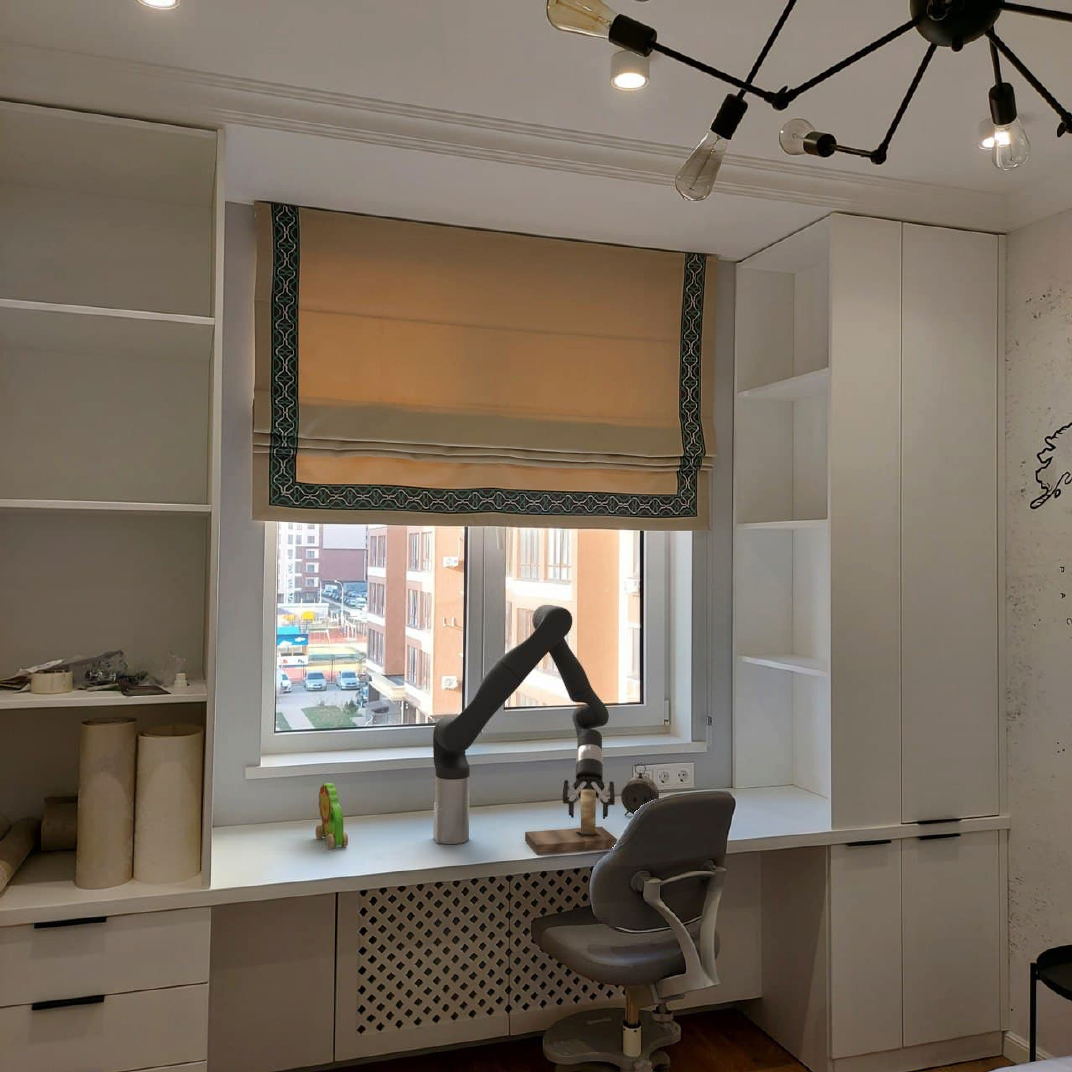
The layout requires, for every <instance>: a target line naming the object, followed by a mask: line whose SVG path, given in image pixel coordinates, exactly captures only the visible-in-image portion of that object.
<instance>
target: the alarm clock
mask: <svg viewBox="0 0 1072 1072" xmlns="http://www.w3.org/2000/svg"><path fill="white" fill-rule="evenodd" d="M639 765H642V766H643V767H644V772H638V771H637V770H636V769H637V767H638V766H639ZM646 770H647V767H646V765H645V764H643V763H640V762H639V763H637V764H635V766H634V771H635V773H636V774H637V775H636V776H633V777H630V778H629V779H628V780H627V781H626V782H625V784H624V785H623V787H622V788H621V789H622V790H621V794H620V800H621V803H622V805H623V807H624V808H625V810H626V812H625V813H624V816H625V817H626V816H627V815H628V814H629V813H630V814H632V815H634V812H635V811H636V810H638V809H639V808H640V806H641V805H643V804H645V803H647V802H649V801H651V800H654V799H660V793H659V788H658V786H657V785H656V783H655V781H653V780H652V779H651V778H649V777H647V776H643V775H644V774H645V772H646Z"/></svg>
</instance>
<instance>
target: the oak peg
mask: <svg viewBox="0 0 1072 1072" xmlns="http://www.w3.org/2000/svg"><path fill="white" fill-rule="evenodd" d="M596 804H597V798H596V791H595V790H591V789H584V790H581V798H580V828H581V831H580V834H581V838H585V837H595V835H596V831H595V827H597V826H596V823H597V820H596V818H597V817H596V813H597V806H596Z"/></svg>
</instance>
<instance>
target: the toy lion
mask: <svg viewBox="0 0 1072 1072" xmlns="http://www.w3.org/2000/svg"><path fill="white" fill-rule="evenodd" d="M338 797H339V796H338V794H337V789H336V788H335V784H334V783H331V782H329V783H323V784H322V785H321V786H320V788H319V791H318V808H319V814H320V817H321V818H320V819H321V824H318V825H316V827H315V838H316V839H317V840H318V839H320V840H323V839H324V838H325V840H326V847H327V849H328V850H333V849H334V848H335V847H339V846H340V847H341V846H342V847H341V848H347V847H346V846H348V845H349V837H348V833H347V832H344V815H343V810H342V807H341V805H340V803H339V798H338Z"/></svg>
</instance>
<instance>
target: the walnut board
mask: <svg viewBox="0 0 1072 1072" xmlns="http://www.w3.org/2000/svg"><path fill="white" fill-rule="evenodd" d="M580 831H581V827H576V828H561V829H559V828H558V829H548V830H547V829H545V830H533V831H532V830H531V831H525V832H524V842H525V841H526V842H527V843H526V842H525V843H526V844H527V845H528V846H529V848H530V849H531V850H532V851H533V852H534V853H535V854H536V855H538V856H539V855H548V854H549V855H550V854H561V853H572V852H573V853H575V852H587V851H601V850H612V849H611V848H612V847H614V845H615V844H616V842H617V843H618V839H617V837H616V836H614V835H613V834H611V832H609V831H608V830H607V829H605V828H604V827H603V826H596V827H595V831H596V835H595V837H585V838H581V834H580Z"/></svg>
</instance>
